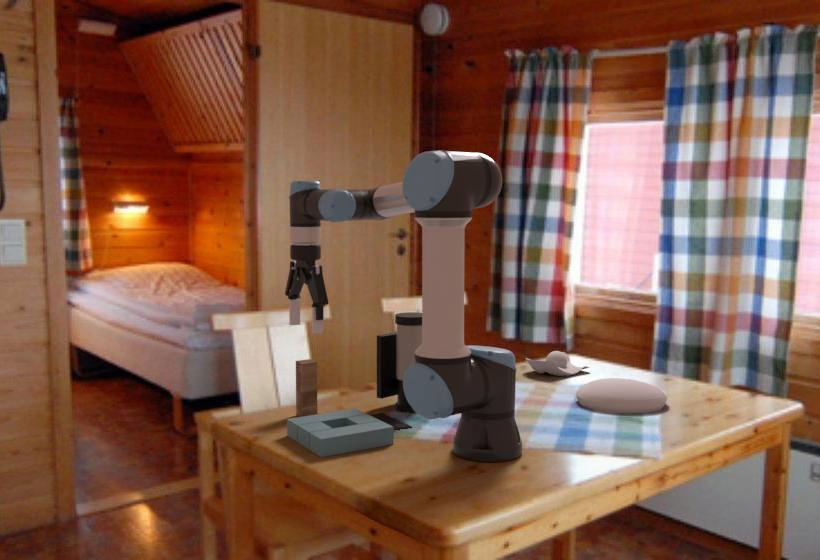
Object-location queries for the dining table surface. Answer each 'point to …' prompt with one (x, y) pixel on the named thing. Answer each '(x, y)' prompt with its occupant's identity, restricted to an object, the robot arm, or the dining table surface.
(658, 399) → the decorative item
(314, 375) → the walnut peg
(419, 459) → the dining table surface
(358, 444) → the socket block
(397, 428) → the smartphone
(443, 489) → the dining table surface
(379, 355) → the light fixture
